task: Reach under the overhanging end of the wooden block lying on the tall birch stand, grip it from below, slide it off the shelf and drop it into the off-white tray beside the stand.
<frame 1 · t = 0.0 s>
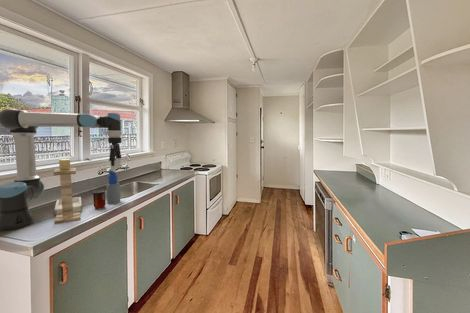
hand: (116, 169, 149), 28 cm above the counter, tool pointing down, fingers open, 13 cm apart
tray: (69, 208, 155), on the counter
stand: (68, 218, 136), on the counter
wooden block: (65, 168, 139), point 30 cm above the counter, touching stand
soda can: (99, 208, 157), on the counter
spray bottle: (113, 202, 170), on the counter
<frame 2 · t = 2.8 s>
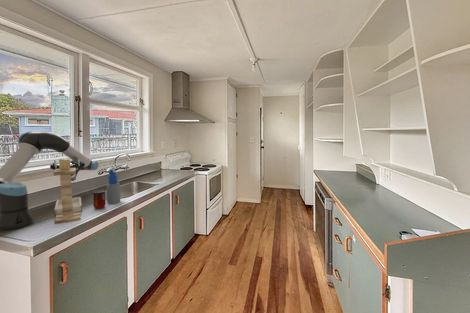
hand: (67, 161, 158), 32 cm above the counter, tool pointing upward, fingers open, 13 cm apart
nothing on the counter moved.
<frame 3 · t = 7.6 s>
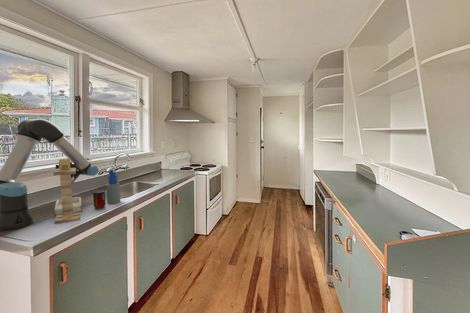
hand: (65, 161, 139), 34 cm above the counter, tool pointing upward, fingers closed on wooden block, 3 cm apart
wooden block: (65, 168, 139), point 30 cm above the counter, touching gripper, stand
everything else where it was.
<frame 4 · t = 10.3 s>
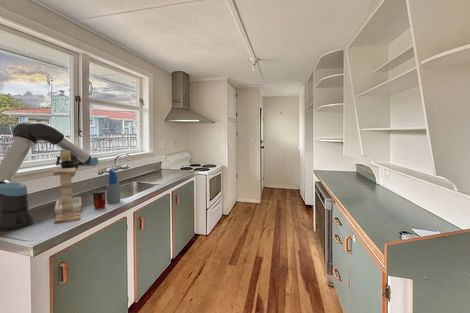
hand: (66, 153, 148), 38 cm above the counter, tool pointing upward, fingers closed on wooden block, 3 cm apart
wooden block: (66, 159, 149), point 34 cm above the counter, touching gripper
everything else where it was.
when the fingers open (26 cm above the counter, at t = 12.9 s): wooden block drops 21 cm, resting on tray.
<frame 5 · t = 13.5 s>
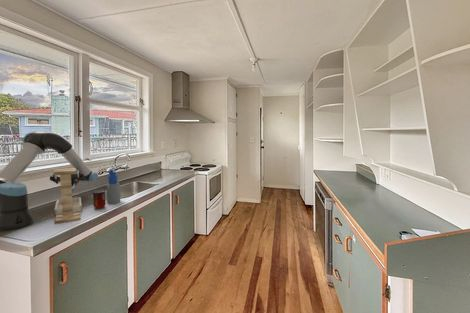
hand: (66, 172, 152), 25 cm above the counter, tool pointing upward, fingers open, 12 cm apart
wooden block: (68, 207, 153), point 1 cm above the counter, touching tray
everything else where it was.
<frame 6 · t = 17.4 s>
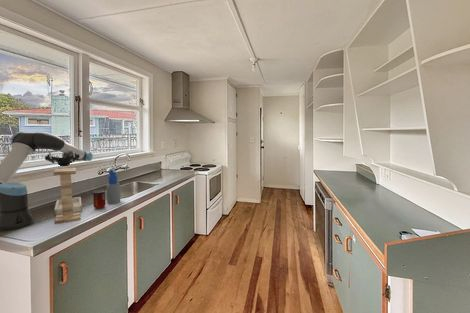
hand: (62, 152, 160), 38 cm above the counter, tool pointing upward, fingers open, 13 cm apart
nothing on the counter moved.
at the end: wooden block inside the target area on the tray (1.9 cm from its centre), point 0.8 cm above the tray's base; wooden block touching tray; the gripper is holding nothing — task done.
